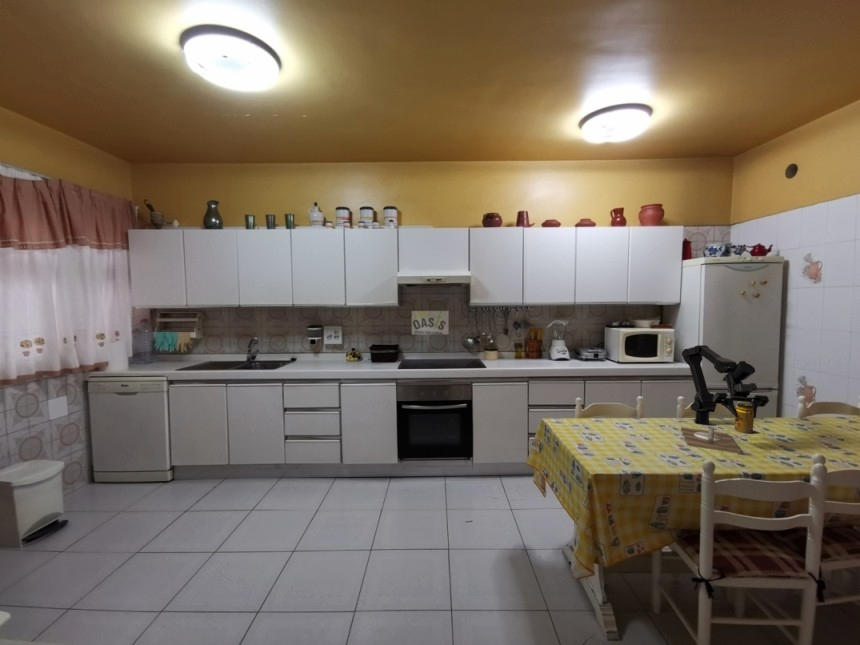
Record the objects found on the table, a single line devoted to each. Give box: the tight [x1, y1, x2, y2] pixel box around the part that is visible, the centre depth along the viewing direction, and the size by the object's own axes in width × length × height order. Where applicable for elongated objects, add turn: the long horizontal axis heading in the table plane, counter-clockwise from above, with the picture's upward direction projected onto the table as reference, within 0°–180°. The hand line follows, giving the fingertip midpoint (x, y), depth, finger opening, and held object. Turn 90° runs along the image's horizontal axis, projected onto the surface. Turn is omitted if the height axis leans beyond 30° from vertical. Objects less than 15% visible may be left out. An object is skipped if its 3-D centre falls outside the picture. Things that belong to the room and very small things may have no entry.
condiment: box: [729, 402, 761, 436], centre depth 159 cm, size 7×8×12 cm
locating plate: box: [680, 427, 741, 454], centre depth 167 cm, size 22×18×7 cm
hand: (745, 417), depth 158 cm, fingers closed on condiment, 6 cm apart
